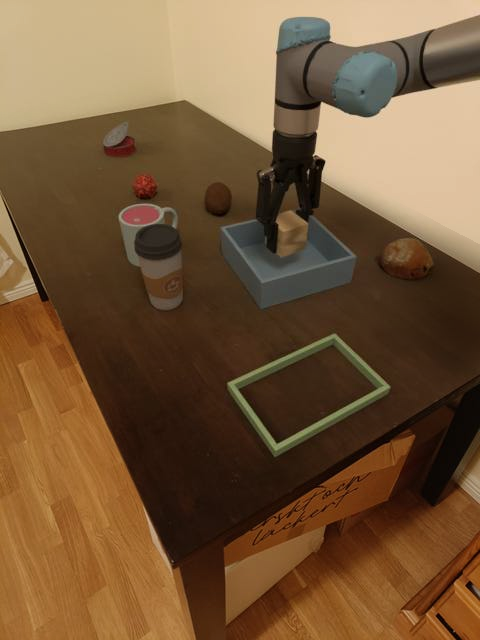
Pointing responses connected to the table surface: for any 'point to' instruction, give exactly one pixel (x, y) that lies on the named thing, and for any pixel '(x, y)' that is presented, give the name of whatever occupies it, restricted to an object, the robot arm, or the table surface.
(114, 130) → the canned food
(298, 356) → the frame
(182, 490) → the table surface
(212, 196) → the potato
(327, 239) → the bin
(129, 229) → the mug
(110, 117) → the table surface
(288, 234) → the block
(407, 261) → the bread roll
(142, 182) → the red bumpy ball
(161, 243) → the coffee cup
